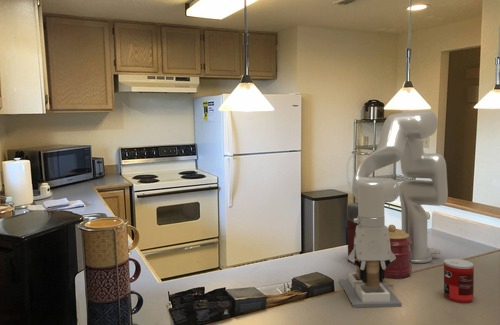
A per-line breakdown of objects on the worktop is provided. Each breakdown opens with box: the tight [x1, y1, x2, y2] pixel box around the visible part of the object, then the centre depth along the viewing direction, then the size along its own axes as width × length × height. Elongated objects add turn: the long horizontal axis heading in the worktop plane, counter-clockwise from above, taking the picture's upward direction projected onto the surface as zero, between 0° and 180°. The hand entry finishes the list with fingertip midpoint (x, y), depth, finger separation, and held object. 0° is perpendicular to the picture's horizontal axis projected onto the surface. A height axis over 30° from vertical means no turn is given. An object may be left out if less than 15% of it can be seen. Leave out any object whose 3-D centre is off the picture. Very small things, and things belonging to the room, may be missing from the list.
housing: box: [338, 272, 402, 308], centre depth 124 cm, size 14×20×4 cm
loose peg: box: [365, 261, 380, 288], centre depth 118 cm, size 4×4×9 cm
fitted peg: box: [355, 257, 361, 281], centre depth 129 cm, size 4×4×9 cm
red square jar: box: [346, 202, 359, 266], centre depth 153 cm, size 9×11×28 cm
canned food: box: [443, 258, 475, 304], centre depth 118 cm, size 8×8×11 cm
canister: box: [384, 224, 413, 279], centre depth 141 cm, size 13×13×18 cm
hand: (372, 280), depth 118 cm, fingers closed on loose peg, 4 cm apart
